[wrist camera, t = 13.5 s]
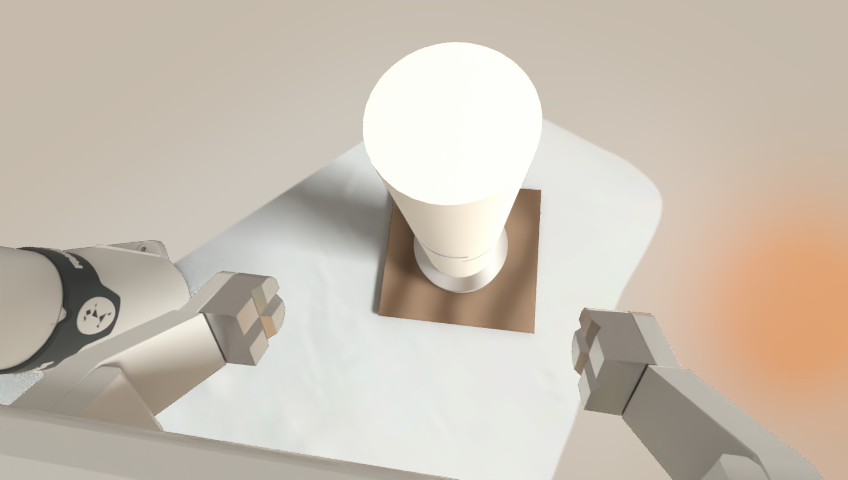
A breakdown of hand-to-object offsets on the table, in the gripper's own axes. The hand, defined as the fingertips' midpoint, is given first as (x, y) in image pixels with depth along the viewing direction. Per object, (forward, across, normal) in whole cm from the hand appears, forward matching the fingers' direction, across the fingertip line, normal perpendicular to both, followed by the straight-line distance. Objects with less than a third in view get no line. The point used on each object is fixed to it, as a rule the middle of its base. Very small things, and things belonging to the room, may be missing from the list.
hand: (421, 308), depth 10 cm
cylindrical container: (+26, 0, +15) cm, 30 cm away
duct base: (+30, 0, +19) cm, 35 cm away
